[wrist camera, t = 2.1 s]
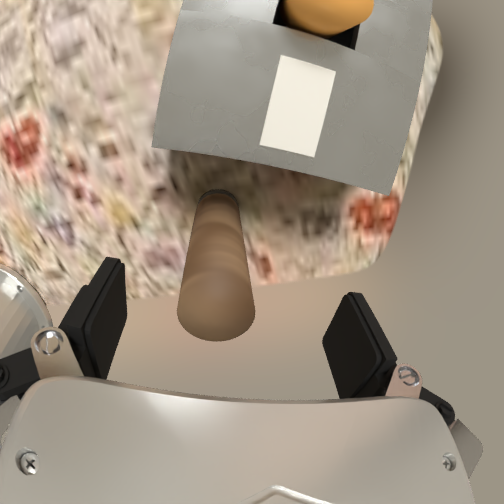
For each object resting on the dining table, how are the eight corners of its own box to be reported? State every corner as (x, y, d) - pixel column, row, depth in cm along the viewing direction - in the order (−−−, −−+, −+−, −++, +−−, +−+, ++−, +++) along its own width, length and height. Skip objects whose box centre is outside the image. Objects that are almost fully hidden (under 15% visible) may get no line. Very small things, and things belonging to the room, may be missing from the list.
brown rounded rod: (216, 235, 23) (215, 351, 13) (188, 208, 22) (161, 312, 11) (247, 210, 22) (270, 315, 12) (219, 180, 21) (217, 267, 11)
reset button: (337, 49, 13) (367, 37, 10) (272, 29, 13) (287, 9, 9) (348, -1, 12) (378, -20, 8) (286, -22, 11) (303, -49, 7)
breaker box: (351, 171, 21) (389, 196, 16) (170, 135, 19) (151, 147, 14) (390, 2, 14) (434, -15, 9) (219, -50, 12) (219, -90, 6)
